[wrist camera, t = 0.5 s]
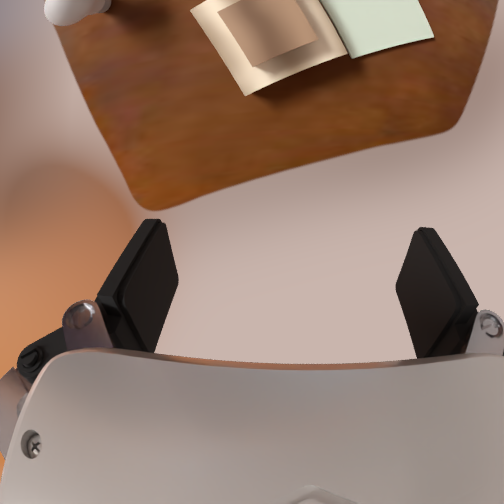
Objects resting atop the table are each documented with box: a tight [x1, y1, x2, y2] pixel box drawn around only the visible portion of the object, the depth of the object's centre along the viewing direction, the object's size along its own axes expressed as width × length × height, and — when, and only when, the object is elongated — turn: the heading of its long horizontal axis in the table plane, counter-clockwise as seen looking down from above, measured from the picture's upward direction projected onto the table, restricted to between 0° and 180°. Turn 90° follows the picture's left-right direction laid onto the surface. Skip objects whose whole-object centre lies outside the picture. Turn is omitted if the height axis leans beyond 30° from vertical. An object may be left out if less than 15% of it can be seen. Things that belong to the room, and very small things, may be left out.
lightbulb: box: [44, 0, 111, 26], centre depth 18 cm, size 6×6×11 cm
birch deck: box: [190, 0, 348, 96], centre depth 24 cm, size 12×12×4 cm
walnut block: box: [217, 0, 319, 67], centre depth 21 cm, size 7×7×2 cm
